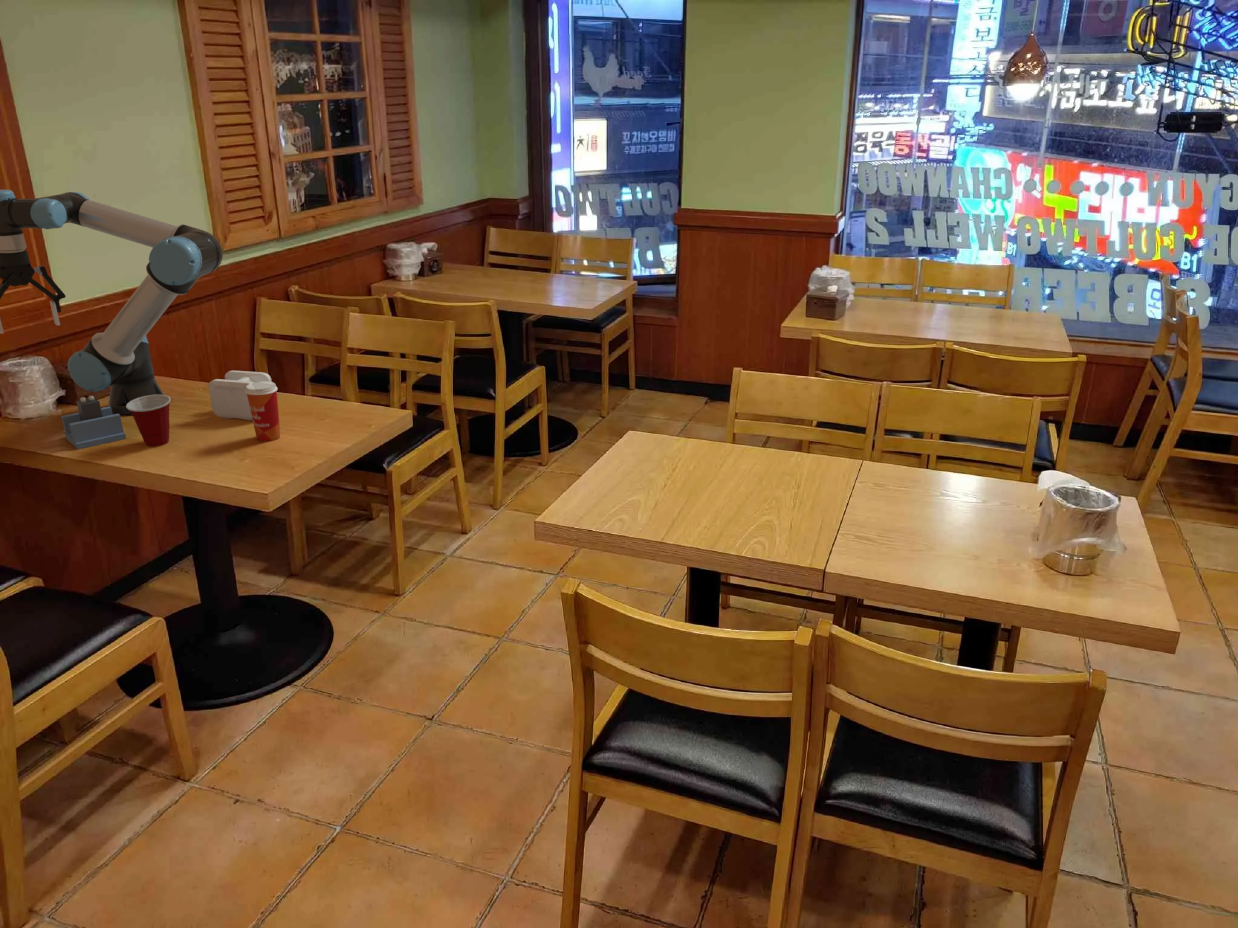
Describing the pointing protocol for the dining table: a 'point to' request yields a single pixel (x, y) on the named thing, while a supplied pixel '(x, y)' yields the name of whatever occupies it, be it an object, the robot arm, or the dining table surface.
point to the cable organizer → (234, 393)
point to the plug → (89, 408)
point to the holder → (93, 429)
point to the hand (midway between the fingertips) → (29, 328)
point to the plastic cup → (152, 418)
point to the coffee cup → (264, 410)
